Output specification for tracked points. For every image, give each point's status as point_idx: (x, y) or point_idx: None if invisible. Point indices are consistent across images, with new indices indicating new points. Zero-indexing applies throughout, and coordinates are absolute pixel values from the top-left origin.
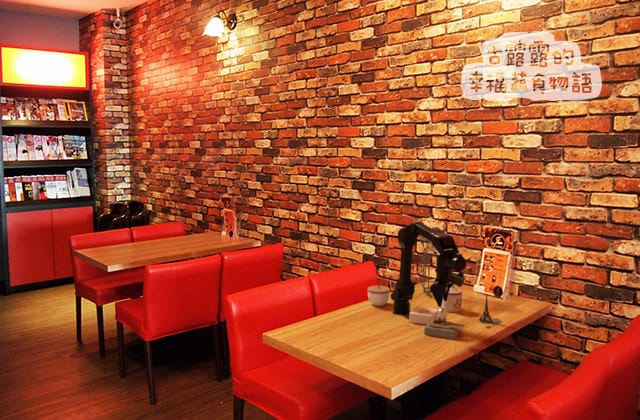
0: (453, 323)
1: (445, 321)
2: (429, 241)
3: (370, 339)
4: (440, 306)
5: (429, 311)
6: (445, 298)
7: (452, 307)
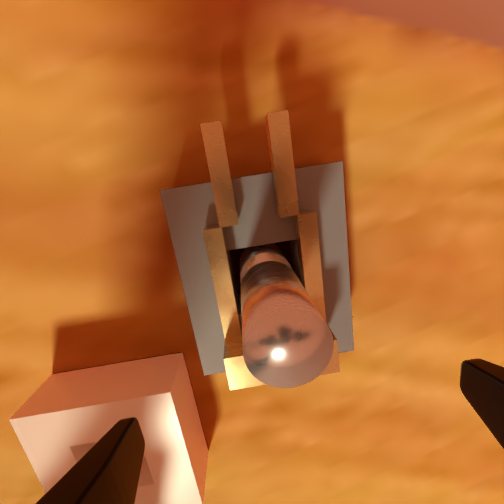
0: (236, 213)
1: (281, 265)
2: None
3: (499, 465)
4: (490, 369)
5: (88, 442)
6: (124, 466)
7: None
